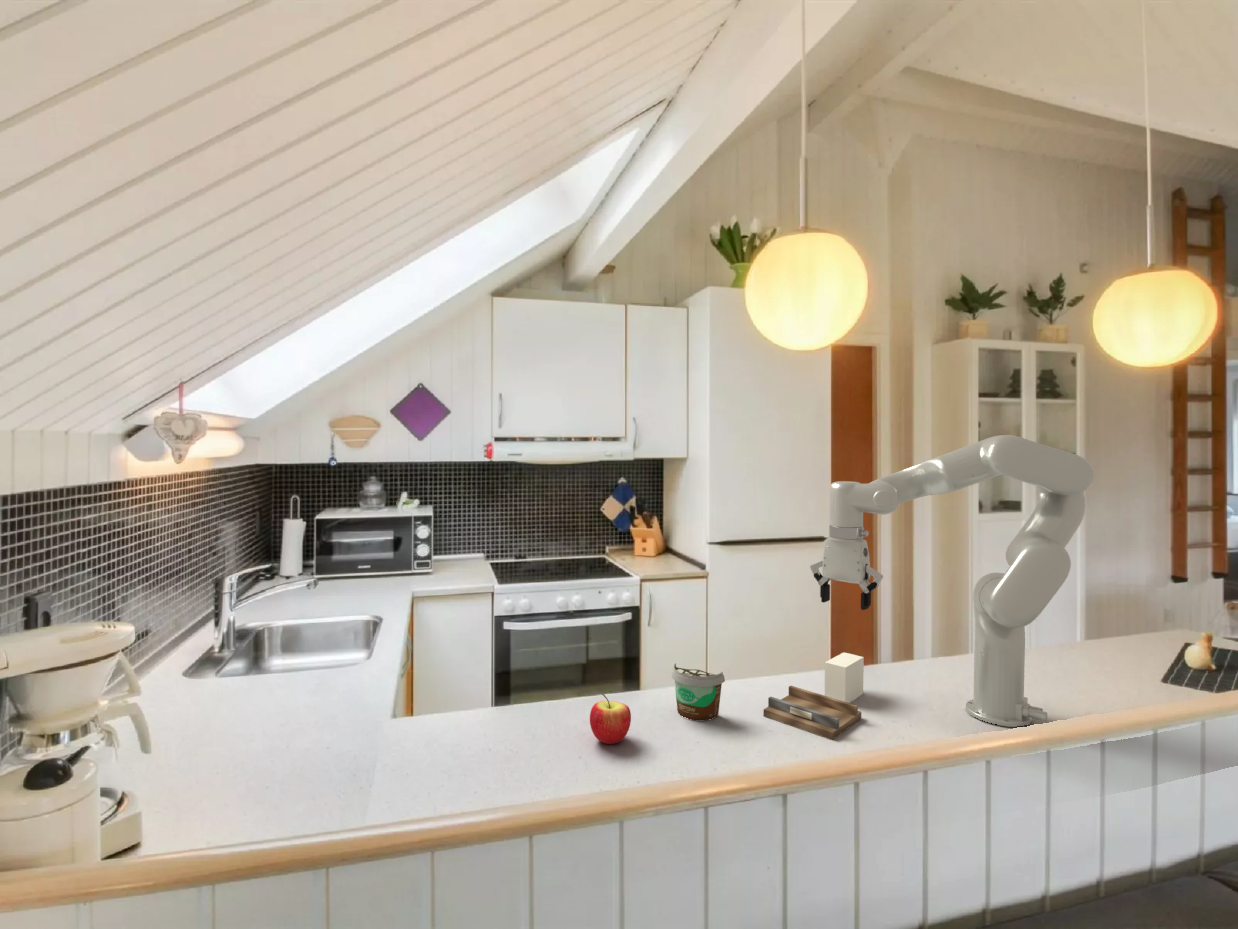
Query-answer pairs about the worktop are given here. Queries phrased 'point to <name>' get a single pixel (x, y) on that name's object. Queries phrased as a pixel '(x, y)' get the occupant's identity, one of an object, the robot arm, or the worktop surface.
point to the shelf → (813, 712)
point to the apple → (610, 721)
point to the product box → (844, 677)
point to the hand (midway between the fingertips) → (844, 605)
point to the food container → (697, 693)
